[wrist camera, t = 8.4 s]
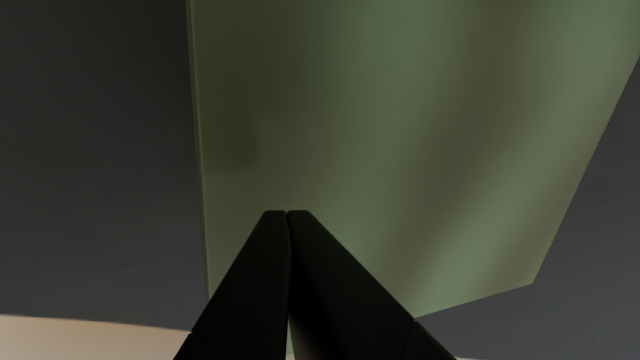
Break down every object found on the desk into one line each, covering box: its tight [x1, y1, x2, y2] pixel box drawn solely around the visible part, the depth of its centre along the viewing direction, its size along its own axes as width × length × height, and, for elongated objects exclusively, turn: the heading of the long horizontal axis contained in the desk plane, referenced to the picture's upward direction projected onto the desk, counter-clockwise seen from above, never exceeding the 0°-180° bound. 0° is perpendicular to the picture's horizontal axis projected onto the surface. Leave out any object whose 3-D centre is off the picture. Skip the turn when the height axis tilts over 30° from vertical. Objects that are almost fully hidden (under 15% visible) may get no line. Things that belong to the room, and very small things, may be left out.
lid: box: [185, 0, 640, 355], centre depth 12 cm, size 12×13×1 cm
